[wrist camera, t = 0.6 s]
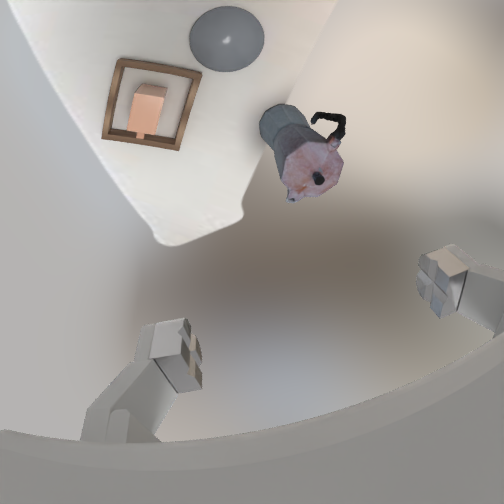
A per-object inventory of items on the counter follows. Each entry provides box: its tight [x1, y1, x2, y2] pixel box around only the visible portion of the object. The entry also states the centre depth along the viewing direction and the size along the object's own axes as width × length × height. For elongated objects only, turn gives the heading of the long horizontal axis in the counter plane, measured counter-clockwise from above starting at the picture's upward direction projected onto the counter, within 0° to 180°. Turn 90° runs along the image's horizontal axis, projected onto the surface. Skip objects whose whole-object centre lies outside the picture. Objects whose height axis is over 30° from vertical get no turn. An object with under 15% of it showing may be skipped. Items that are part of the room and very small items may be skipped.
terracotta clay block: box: [127, 84, 167, 139], centre depth 40 cm, size 8×4×8 cm, turn 159°
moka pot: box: [259, 104, 346, 203], centre depth 44 cm, size 10×15×20 cm, turn 155°
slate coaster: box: [190, 7, 264, 72], centre depth 38 cm, size 12×12×1 cm
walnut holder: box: [101, 58, 202, 151], centre depth 42 cm, size 14×14×3 cm
